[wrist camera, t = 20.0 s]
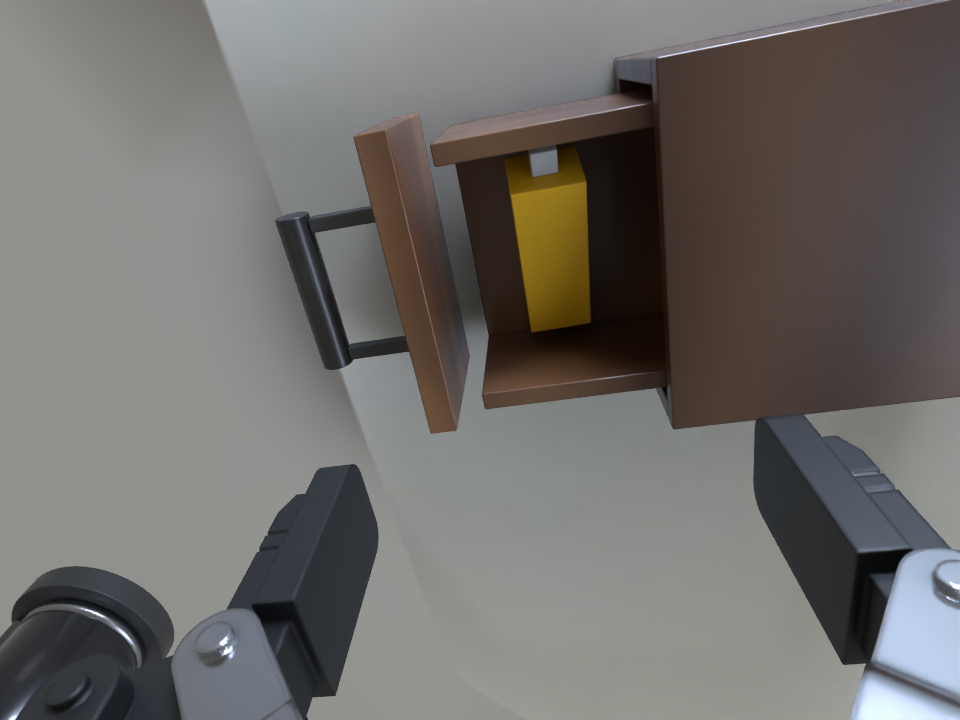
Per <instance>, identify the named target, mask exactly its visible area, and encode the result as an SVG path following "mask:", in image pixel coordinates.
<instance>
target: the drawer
mask: <svg viewBox="0 0 960 720" xmlns="http://www.w3.org/2000/svg"><path fill="white" fill-rule="evenodd" d="M353 138H354V141H355V145H356V149H357V153H358V157H359V161H360V164H361V168H362V172H363V176H364V180H365V184H366V187H367V191H368V195H369V199H370V203H371V206H367V207H362V208H356V209H350V210H345V211H339V212H333V213H328V214H322V215H316V216H312V217H310V216H309V213H308V212H296V213H292V214H288V215H284V216H281V217H279V218H277V219H276V220H275V222H276V225H277V228H278V231H279V234H280V237H281V240H282V243H283V246H284V249H285V252H286V255H287V258H288V261H289V264H290V267H291V270H292V273H293V276H294V279H295V282H296V285H297V288H298V291H299V294H300V297H301V299H302V303H303V306H304V309H305V312H306V314H307V317H308V321H309V323H310V326H311V329H312V332H313V335H314V338H315V341H316V344H317V347H318V350H319V353H320V356H321V359H322V362H323V365H324V367H325V368H326V369H328V370H335V369H340V368H343V367H345V366H347V365H349V364H350V363H351V362H352V361H353V359H359V358H366V357H373V356H380V355H388V354H395V353H402V352H410V356H411V360H412V364H413V367H414V371H415V375H416V379H417V383H418V387H419V390H420V394H421V398H422V402H423V406H424V410H425V413H426V417H427V421H428V425H429V429H430V432H431V434H432V433H441V432H449V431H456V430H457V427H458V421H459V415H460V410H461V404H462V398H463V392H464V386H465V381H466V375H467V369H468V363H469V357H470V354H469V349H468V345H467V340H466V335H465V330H464V326H463V321H462V316H461V312H460V307H459V302H458V297H457V293H456V288H455V283H454V278H453V274H452V269H451V264H450V260H449V255H448V250H447V245H446V241H445V236H444V231H443V226H442V222H441V217H440V212H439V208H438V203H437V198H436V193H435V189H434V184H433V179H432V174H431V170H430V165H429V160H428V156H427V151H426V146H425V141H424V137H423V132H422V127H421V122H420V118H419V114H418V113H415V114H410V115H405V116H400V117H395V118H392V119H390V120H388V121H385V122H383V123H381V124H379V125H377V126H374V127H372V128H370V129H368V130H365V131H363V132H361V133H359V134H356V135H354V137H353ZM553 145H556V149H562V148H568V147H573V146H575V147H576V149H577V153H578V156H579V159H580V162H581V166H582V169H583V172H584V175H585V179H586V182H587V213H588V245H589V278H590V310H591V323H588V324H581V325H575V326H569V327H563V328H557V329H550V330H544V331H538V332H531V328H530V322H529V315H528V309H527V303H526V297H525V290H524V284H523V277H522V271H521V264H520V258H519V251H518V245H517V238H516V231H515V225H514V218H513V212H512V205H511V199H510V192H509V186H508V179H507V173H506V166H505V159H509V158H515V157H520V156H525V155H529V154H528V150H531V149H537V148H542V147H548V146H553ZM430 147H431V152H432V157H433V162H434V166H435V167H438V166H444V165H449V164H456V169H457V174H458V179H459V185H460V190H461V195H462V200H463V205H464V211H465V216H466V221H467V226H468V231H469V237H470V242H471V247H472V252H473V257H474V262H475V268H476V273H477V278H478V283H479V288H480V294H481V299H482V304H483V309H484V314H485V320H486V325H487V330H488V335H489V339H488V347H487V356H486V365H485V373H484V382H483V391H482V397H483V402H484V407H485V409H492V408H500V407H508V406H516V405H524V404H532V403H540V402H548V401H556V400H564V399H572V398H580V397H588V396H596V395H605V394H613V393H621V392H629V391H637V390H645V389H653V388H661V387H667V376H666V356H665V335H664V315H663V294H662V274H661V253H660V233H659V213H658V192H657V172H656V151H655V131H654V110H653V90H652V87H647V88H642V89H637V90H631V91H626V92H621V93H616V94H611V95H605V96H600V97H595V98H590V99H585V100H579V101H574V102H569V103H564V104H559V105H553V106H548V107H543V108H538V109H533V110H527V111H522V112H517V113H512V114H506V115H501V116H496V117H491V118H486V119H480V120H475V121H470V122H465V123H460V124H454V125H451V126H449V128H448V129H446V130H445V131H444V132H443V133H442V134H441V135H440V136H439V137H438V138H437V139H436V140H435V141H433V142H432V143H431V144H430ZM374 222H376V226H377V229H378V233H379V237H380V241H381V245H382V249H383V252H384V256H385V260H386V264H387V268H388V272H389V275H390V279H391V283H392V287H393V291H394V295H395V298H396V302H397V306H398V310H399V314H400V318H401V321H402V325H403V329H404V333H405V336H401V337H394V338H387V339H380V340H373V341H366V342H359V343H352V344H350V345H349V342H348V339H347V336H346V333H345V329H344V326H343V323H342V320H341V316H340V313H339V310H338V307H337V303H336V300H335V297H334V294H333V290H332V287H331V284H330V281H329V278H328V274H327V271H326V268H325V265H324V261H323V258H322V255H321V252H320V248H319V245H318V242H317V239H316V235H315V233H316V232H321V231H327V230H333V229H339V228H345V227H350V226H356V225H362V224H368V223H374Z"/></svg>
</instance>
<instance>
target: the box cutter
mask: <svg viewBox="0 0 960 720" xmlns="http://www.w3.org/2000/svg"><path fill="white" fill-rule="evenodd" d="M528 154H529V155H525V156H520V157H515V158H509V159H505V166H506V173H507V179H508V186H509V192H510V199H511V205H512V212H513V218H514V225H515V231H516V238H517V245H518V251H519V258H520V264H521V271H522V277H523V284H524V290H525V297H526V303H527V309H528V315H529V322H530V328H531V332H538V331H544V330H550V329H557V328H563V327H569V326H575V325H581V324H588V323H591V310H590V278H589V245H588V213H587V182H586V179H585V175H584V172H583V169H582V166H581V162H580V159H579V156H578V153H577V149H576V147H575V146H573V147H568V148H562V149H556V145H553V146H548V147H542V148H537V149H531V150H528Z"/></svg>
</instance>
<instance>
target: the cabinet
mask: <svg viewBox="0 0 960 720" xmlns="http://www.w3.org/2000/svg"><path fill="white" fill-rule="evenodd" d="M614 66H615V80H616V93H621V92H626V91H631V90H637V89H642V88H647V87H652V90H653V110H654V131H655V151H656V172H657V192H658V213H659V233H660V253H661V274H662V294H663V315H664V335H665V356H666V376H667V387H661V388H656V389H657V391H658V394H659V396H660V399H661V401H662V404H663V406H664V408H665V411H666V413H667V416H668V417H669V421H670V423H671V426H672V428H673V429H682V428H690V427H699V426H708V425H717V424H725V423H734V422H743V421H751V420H757V419H758V418H760V417H768V416H777V415H785V414H794V413H801V414H803V415H804V414H813V413H821V412H830V411H839V410H847V409H856V408H865V407H874V406H882V405H891V404H900V403H908V402H917V401H926V400H935V399H943V398H952V397H960V0H903V1H898V2H893V3H888V4H883V5H878V6H873V7H868V8H863V9H858V10H853V11H848V12H843V13H838V14H833V15H828V16H823V17H818V18H813V19H808V20H803V21H798V22H793V23H788V24H783V25H778V26H773V27H768V28H763V29H758V30H753V31H748V32H743V33H738V34H733V35H728V36H723V37H718V38H713V39H708V40H703V41H698V42H693V43H688V44H683V45H678V46H673V47H668V48H663V49H658V50H653V51H648V52H643V53H638V54H633V55H628V56H623V57H618V58H615V59H614Z"/></svg>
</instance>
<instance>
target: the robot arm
mask: <svg viewBox="0 0 960 720" xmlns="http://www.w3.org/2000/svg"><path fill="white" fill-rule="evenodd" d="M753 483H754V493H755V498H756V502H757V505H758V508H759V511H760V513H761V515H762V517H763V519H764V521H765V523H766V524H767V526H768V528H769V530H770V532H771V534H772V535H773V537H774V539H775V541H776V543H777V545H778V546H779V548H780V550H781V552H782V554H783V556H784V557H785V559H786V561H787V563H788V565H789V567H790V568H791V570H792V572H793V574H794V576H795V578H796V579H797V581H798V583H799V585H800V587H801V589H802V590H803V592H804V594H805V596H806V598H807V600H808V601H809V603H810V605H811V607H812V609H813V611H814V612H815V614H816V616H817V618H818V620H819V622H820V623H821V625H822V627H823V629H824V631H825V633H826V634H827V636H828V638H829V640H830V642H831V644H832V645H833V647H834V649H835V651H836V653H837V655H838V656H839V658H840V660H841V662H842V664H843V665H849V664H864V663H866V666H865V669H864V672H863V675H862V678H861V682H860V685H859V688H858V692H857V695H856V699H855V702H854V705H853V709H852V712H851V716H850V719H849V720H960V551H959V550H955V549H951V548H950V547H949V546H948V545H947V543H946V542H945V541H944V540H943V539H942V538H941V537H940V536H939V535H938V533H937V532H936V531H935V530H934V529H933V528H932V527H931V526H930V525H929V523H928V522H927V521H926V520H925V519H924V518H923V517H922V516H921V515H920V513H919V512H918V511H917V510H916V509H915V508H914V507H913V506H912V505H911V503H910V502H909V501H908V500H907V499H906V498H905V497H904V496H903V495H902V494H901V492H900V491H899V490H895V487H894V485H893V484H892V482H891V481H890V480H889V479H888V478H887V477H886V476H885V475H884V474H881V473H880V469H879V468H878V467H877V466H876V465H875V464H874V462H873V461H872V460H871V459H870V458H869V457H868V456H867V455H866V454H865V452H864V451H863V450H861V449H859V448H857V447H856V446H854V445H852V444H850V443H849V442H847V441H845V440H843V439H841V438H840V437H838V436H827V437H821V435H820V434H819V433H818V432H817V430H816V429H815V428H814V427H813V426H812V424H811V423H810V422H809V421H808V420H807V418H806V417H805V416H804V415H803V414H801V413H794V414H785V415H777V416H768V417H760V418H758V419H757V420H756V424H755V442H754V478H753ZM377 549H378V527H377V521H376V518H375V515H374V512H373V509H372V506H371V503H370V500H369V497H368V494H367V491H366V487H365V484H364V481H363V478H362V475H361V472H360V470H359V468H358V467H357V466H356V465H354V464H351V465H342V466H334V467H326V468H320V469H318V470H317V472H316V473H315V475H314V477H313V479H312V481H311V484H310V485H309V488H308V490H307V492H306V494H299V495H296V496H295V497H294V498H293V499H292V500H291V501H290V502H289V503H288V504H287V505H286V506H284V508H282V510H280V512H279V513H278V514H277V516H276V518H275V520H274V521H273V523H272V525H271V527H270V529H269V531H268V536H265V538H264V540H263V542H262V544H261V546H260V551H259V552H257V554H256V555H255V557H254V559H253V561H252V563H251V565H250V567H249V568H248V570H247V572H246V574H245V576H244V578H243V580H242V581H241V583H240V585H239V587H238V589H237V591H236V593H235V595H234V597H233V598H232V600H231V602H230V604H229V606H228V608H227V610H224V611H221V612H219V613H216V614H214V615H212V616H210V617H208V618H206V619H205V620H203V621H202V622H200V623H199V624H198V625H196V626H195V627H194V628H193V629H192V630H191V631H189V632H188V634H187V635H186V636H185V637H184V638H183V639H182V641H181V642H180V644H179V645H178V647H177V648H176V650H175V652H174V655H172V656H170V657H167V658H164V659H161V660H159V661H156V662H153V663H150V664H147V665H145V666H142V665H143V663H144V661H145V657H146V649H145V645H144V642H143V640H142V638H141V636H140V635H139V633H138V632H137V631H136V630H135V628H134V627H133V626H132V625H131V624H130V623H129V622H127V621H126V620H125V619H124V618H122V617H121V616H119V615H118V614H116V613H115V612H113V611H111V610H109V609H107V608H105V607H103V606H100V605H98V604H95V603H92V602H89V601H85V600H80V599H73V598H56V599H50V600H47V601H44V602H41V603H39V604H38V605H36V606H35V607H34V608H33V609H32V610H31V611H30V612H29V613H28V614H27V616H20V617H18V618H17V619H16V620H15V621H14V623H13V624H12V625H11V626H10V627H9V628H8V629H7V630H6V631H5V632H4V634H3V635H2V636H1V637H0V720H308V718H307V712H308V710H309V707H310V703H311V700H312V697H325V696H335V695H336V692H337V689H338V685H339V681H340V678H341V675H342V671H343V668H344V664H345V661H346V657H347V654H348V650H349V647H350V643H351V640H352V636H353V633H354V629H355V626H356V623H357V619H358V615H359V612H360V609H361V605H362V602H363V598H364V595H365V591H366V588H367V584H368V581H369V577H370V574H371V570H372V567H373V563H374V560H375V556H376V553H377ZM141 666H142V667H141Z"/></svg>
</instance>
